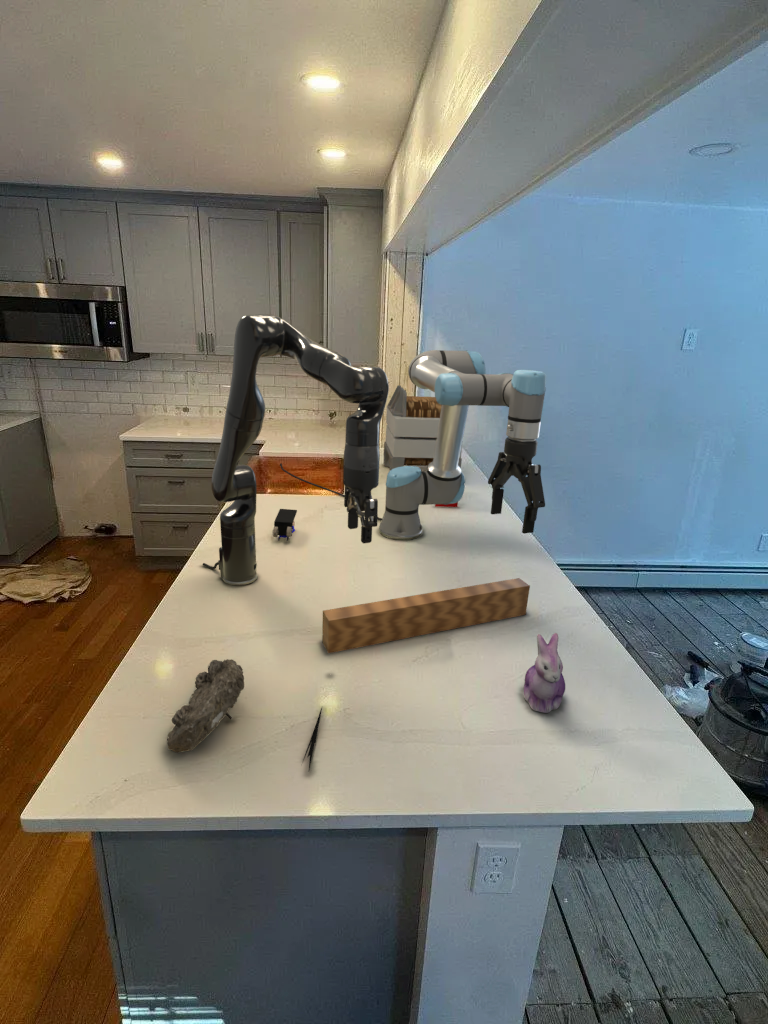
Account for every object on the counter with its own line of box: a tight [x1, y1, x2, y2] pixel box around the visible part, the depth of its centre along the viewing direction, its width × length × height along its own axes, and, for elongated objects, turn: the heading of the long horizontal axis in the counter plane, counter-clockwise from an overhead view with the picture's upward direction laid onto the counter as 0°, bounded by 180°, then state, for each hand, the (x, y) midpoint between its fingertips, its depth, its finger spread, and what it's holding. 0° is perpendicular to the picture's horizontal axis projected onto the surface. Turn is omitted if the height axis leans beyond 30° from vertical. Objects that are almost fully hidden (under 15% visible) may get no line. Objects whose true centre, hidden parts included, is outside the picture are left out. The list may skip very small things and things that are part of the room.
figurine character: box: [272, 508, 298, 542], centre depth 192 cm, size 7×8×15 cm
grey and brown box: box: [383, 384, 464, 471], centre depth 268 cm, size 34×33×41 cm
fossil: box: [166, 658, 245, 754], centre depth 106 cm, size 22×10×15 cm
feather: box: [301, 673, 332, 771], centre depth 108 cm, size 2×28×2 cm
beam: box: [321, 577, 531, 654], centre depth 140 cm, size 54×5×9 cm, turn 113°
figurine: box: [523, 632, 566, 714], centre depth 114 cm, size 9×10×15 cm
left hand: (359, 535), depth 125 cm, fingers open, 8 cm apart
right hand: (511, 522), depth 140 cm, fingers open, 13 cm apart
